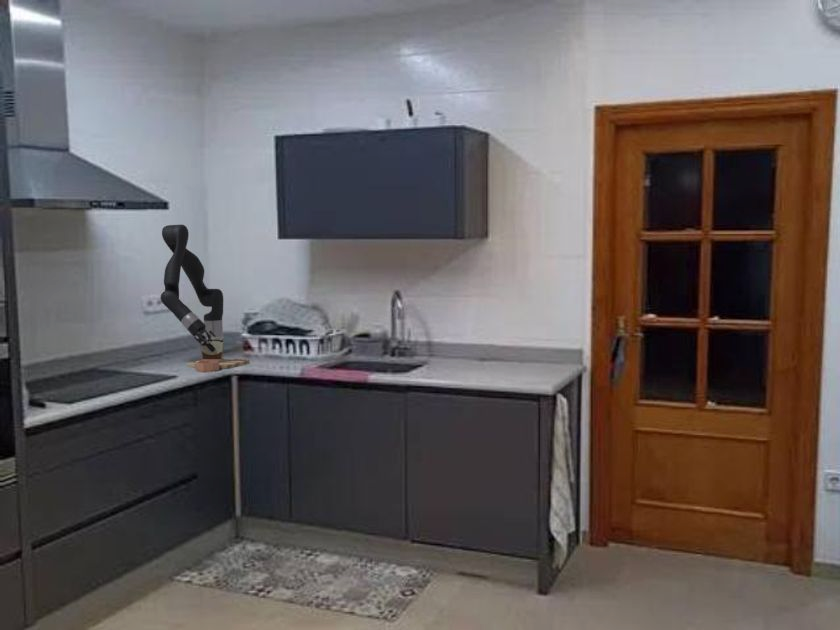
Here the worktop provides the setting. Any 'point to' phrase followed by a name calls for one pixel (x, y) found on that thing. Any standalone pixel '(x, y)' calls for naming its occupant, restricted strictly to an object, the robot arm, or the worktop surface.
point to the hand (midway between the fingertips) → (217, 349)
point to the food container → (217, 353)
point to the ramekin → (207, 366)
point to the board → (225, 363)
